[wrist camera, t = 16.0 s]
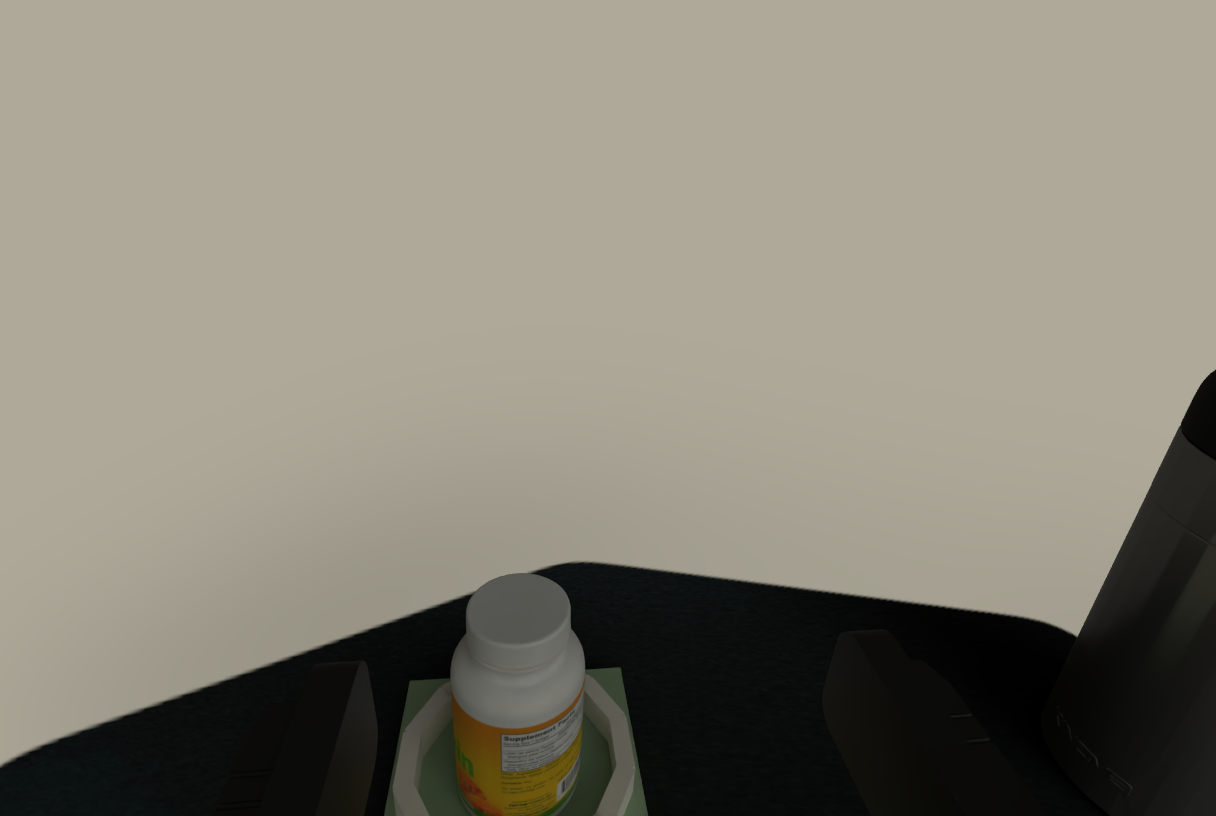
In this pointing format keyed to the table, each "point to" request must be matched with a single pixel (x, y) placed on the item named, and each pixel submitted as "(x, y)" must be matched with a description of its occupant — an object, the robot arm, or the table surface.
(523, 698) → the supplement bottle
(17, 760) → the table surface
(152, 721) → the table surface
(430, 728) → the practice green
